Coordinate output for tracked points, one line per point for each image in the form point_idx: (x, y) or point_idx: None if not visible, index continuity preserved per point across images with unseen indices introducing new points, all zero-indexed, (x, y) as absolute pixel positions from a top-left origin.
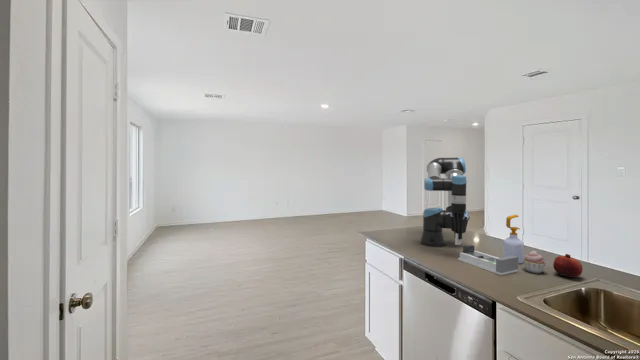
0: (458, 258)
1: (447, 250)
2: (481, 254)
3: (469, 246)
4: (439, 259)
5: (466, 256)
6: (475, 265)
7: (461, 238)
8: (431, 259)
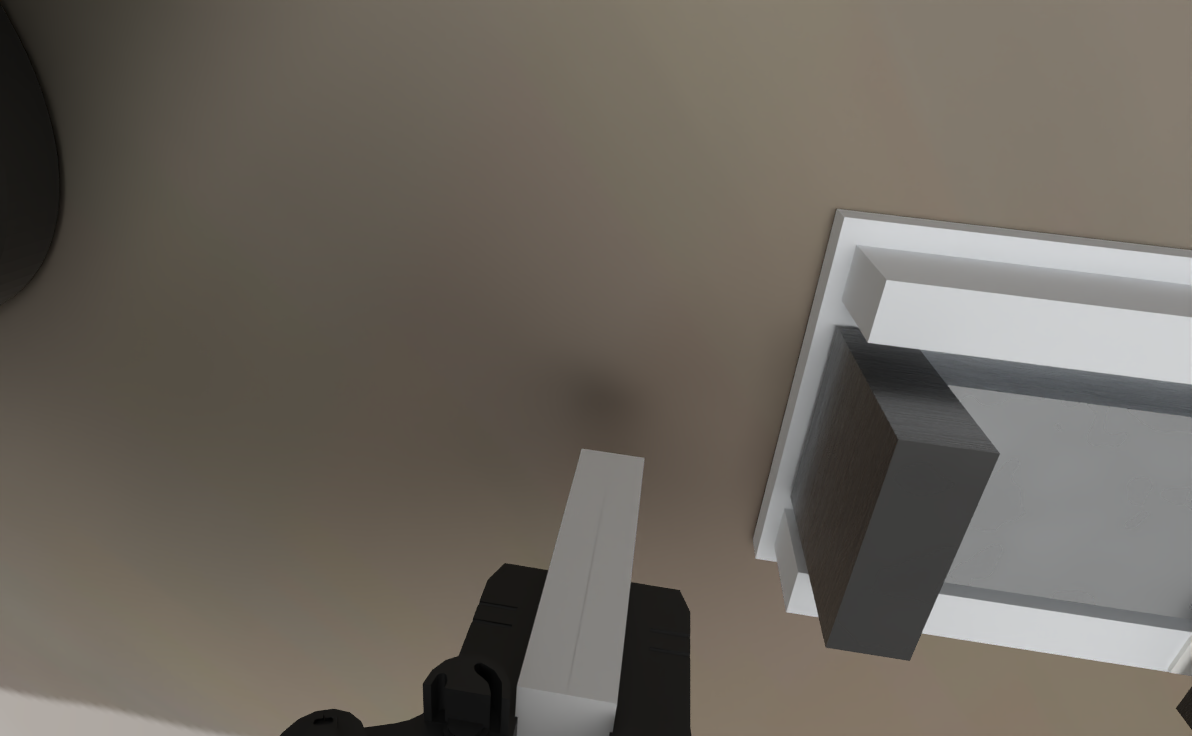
0: (761, 557)
1: (318, 254)
2: (1157, 470)
3: (936, 580)
4: None
5: None
6: None
7: (688, 628)
8: None
